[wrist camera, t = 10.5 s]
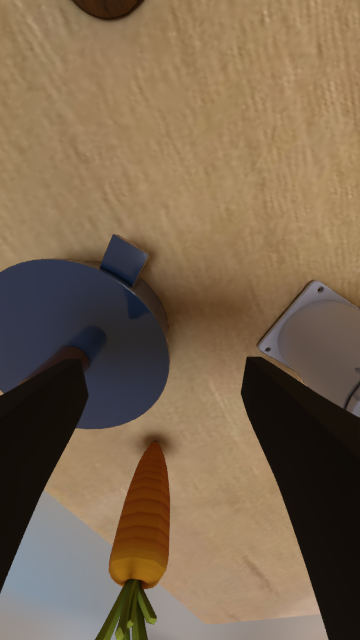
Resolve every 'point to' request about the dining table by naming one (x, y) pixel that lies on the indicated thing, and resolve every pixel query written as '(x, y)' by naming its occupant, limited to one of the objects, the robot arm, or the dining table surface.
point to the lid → (83, 336)
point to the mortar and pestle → (107, 7)
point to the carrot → (140, 547)
